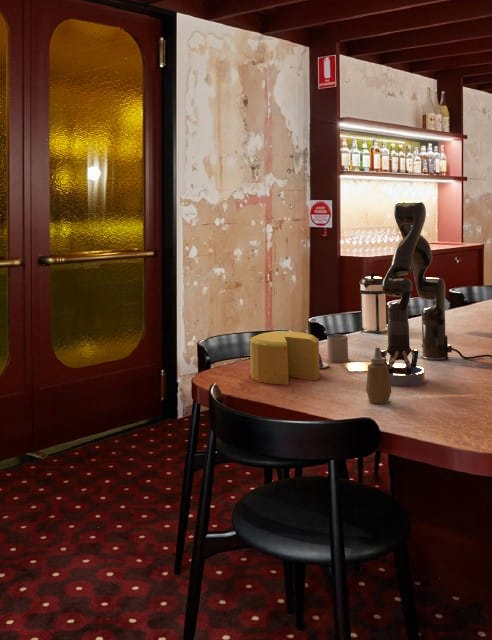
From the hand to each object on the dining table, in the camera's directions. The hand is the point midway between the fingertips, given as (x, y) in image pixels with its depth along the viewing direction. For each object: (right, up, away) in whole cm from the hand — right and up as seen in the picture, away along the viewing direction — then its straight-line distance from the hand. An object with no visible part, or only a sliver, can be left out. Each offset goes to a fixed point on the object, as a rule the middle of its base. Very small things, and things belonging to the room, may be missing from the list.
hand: (399, 378), depth 262 cm
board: (-5, -2, +21) cm, 22 cm away
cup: (-15, -2, +37) cm, 40 cm away
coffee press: (+17, -2, +102) cm, 103 cm away
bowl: (0, -1, 0) cm, 1 cm away
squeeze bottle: (-14, -2, -25) cm, 29 cm away
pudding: (-27, -2, +27) cm, 38 cm away
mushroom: (0, -1, 0) cm, 1 cm away
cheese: (-40, -3, +13) cm, 42 cm away
